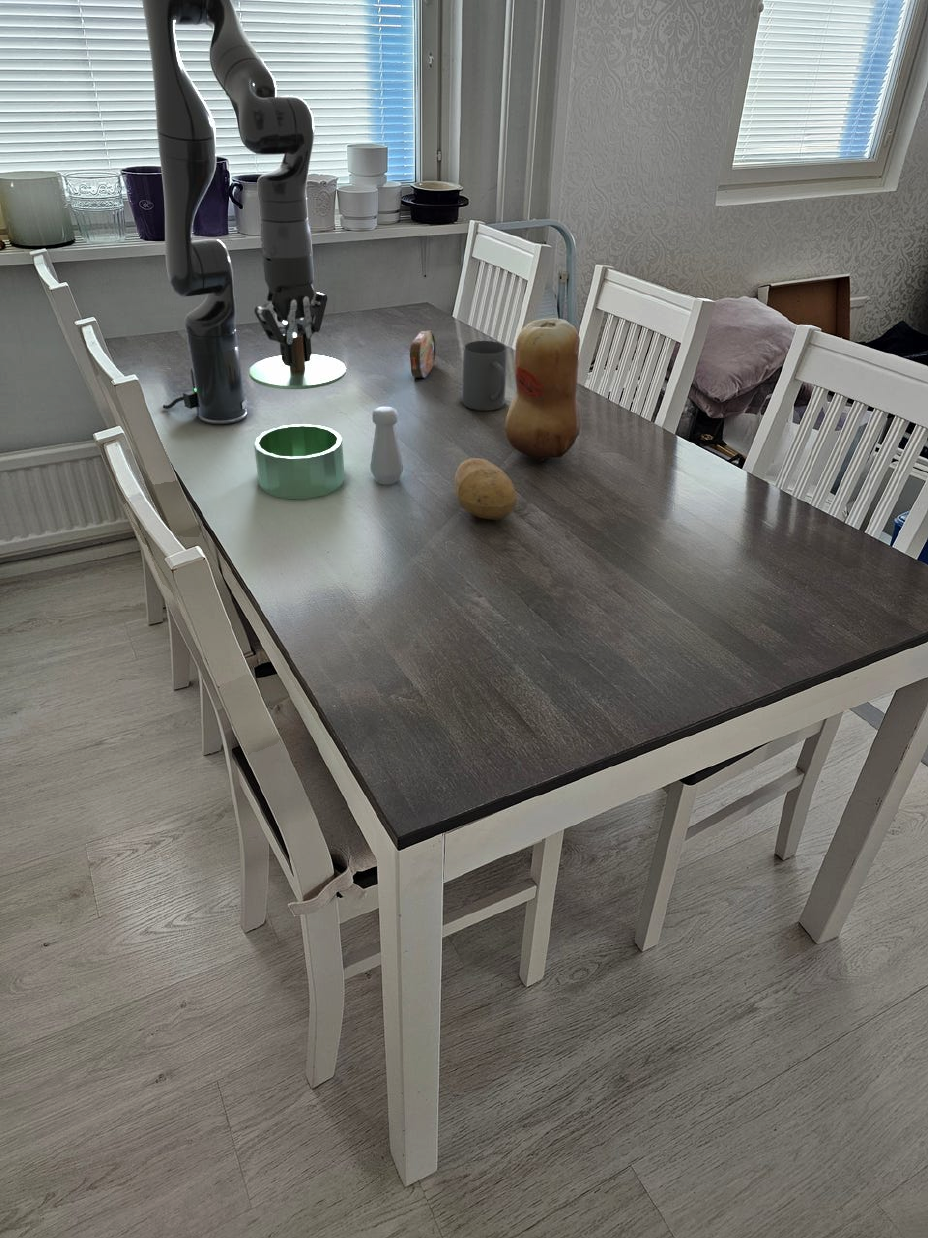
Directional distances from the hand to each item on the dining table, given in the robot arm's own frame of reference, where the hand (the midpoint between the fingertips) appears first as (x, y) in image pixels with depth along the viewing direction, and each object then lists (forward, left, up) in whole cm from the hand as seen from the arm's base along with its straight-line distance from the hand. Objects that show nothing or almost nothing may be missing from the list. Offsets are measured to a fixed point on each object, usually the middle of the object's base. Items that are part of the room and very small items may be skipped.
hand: (297, 362), depth 139 cm
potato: (+32, +9, -21) cm, 39 cm away
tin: (-22, +56, -21) cm, 64 cm away
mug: (+3, +48, -21) cm, 53 cm away
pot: (0, -2, -20) cm, 20 cm away
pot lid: (0, 0, -2) cm, 2 cm away
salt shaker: (+11, +8, -21) cm, 25 cm away
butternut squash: (+26, +34, -21) cm, 48 cm away
